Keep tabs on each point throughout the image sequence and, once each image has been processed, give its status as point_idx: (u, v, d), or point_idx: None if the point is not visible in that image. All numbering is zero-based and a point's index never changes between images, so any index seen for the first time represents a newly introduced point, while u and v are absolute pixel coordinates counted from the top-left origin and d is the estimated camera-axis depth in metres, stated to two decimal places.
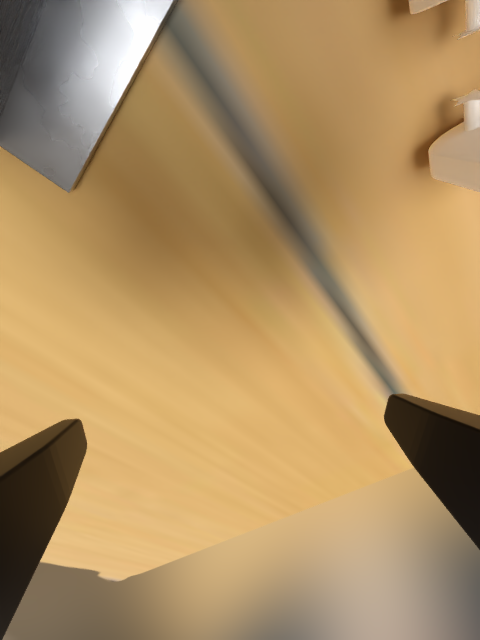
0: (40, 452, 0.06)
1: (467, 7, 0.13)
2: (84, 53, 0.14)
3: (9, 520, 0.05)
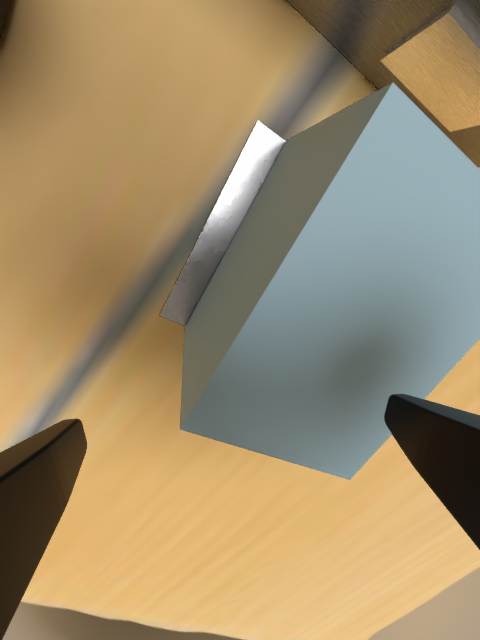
0: (40, 452, 0.06)
1: None
2: None
3: (9, 520, 0.05)
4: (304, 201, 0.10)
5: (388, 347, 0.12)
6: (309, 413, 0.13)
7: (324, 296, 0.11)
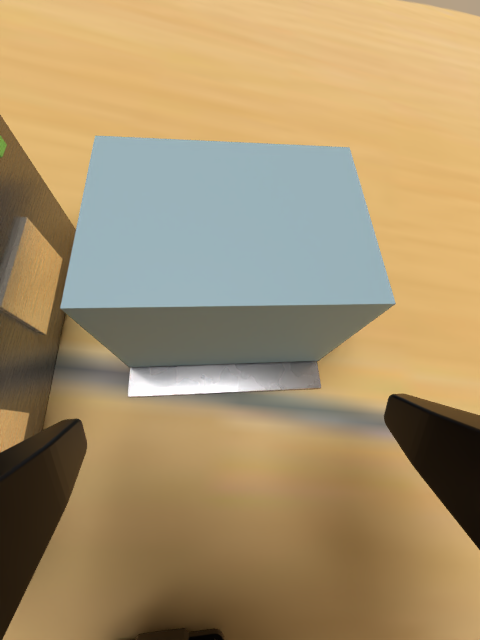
0: (40, 452, 0.06)
1: None
2: None
3: (9, 520, 0.05)
4: (162, 319, 0.13)
5: (225, 194, 0.14)
6: (313, 214, 0.14)
7: (216, 261, 0.13)
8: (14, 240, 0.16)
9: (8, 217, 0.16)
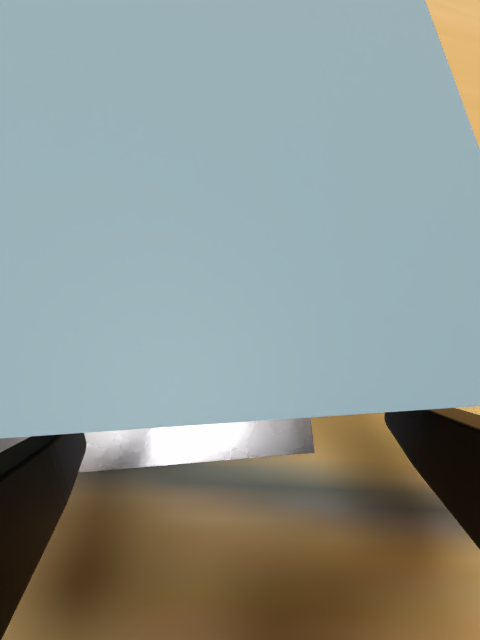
0: (39, 452, 0.06)
1: None
2: None
3: (8, 520, 0.05)
4: None
5: (56, 35, 0.05)
6: (319, 109, 0.05)
7: None
8: None
9: None
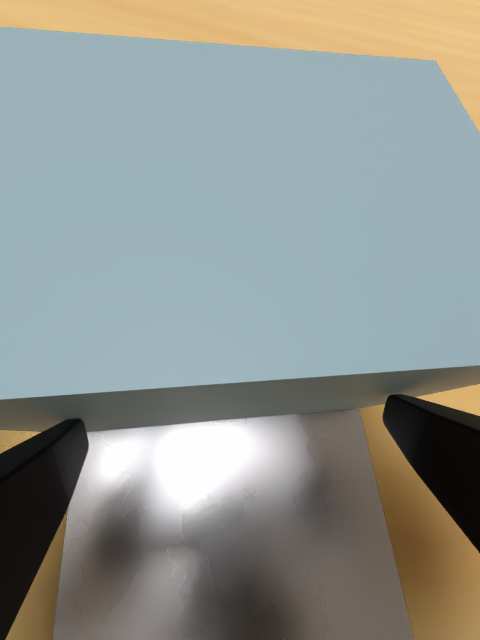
0: (43, 452, 0.06)
1: None
2: None
3: (12, 520, 0.05)
4: (80, 406, 0.05)
5: (220, 129, 0.07)
6: (399, 167, 0.07)
7: (206, 268, 0.05)
8: None
9: None
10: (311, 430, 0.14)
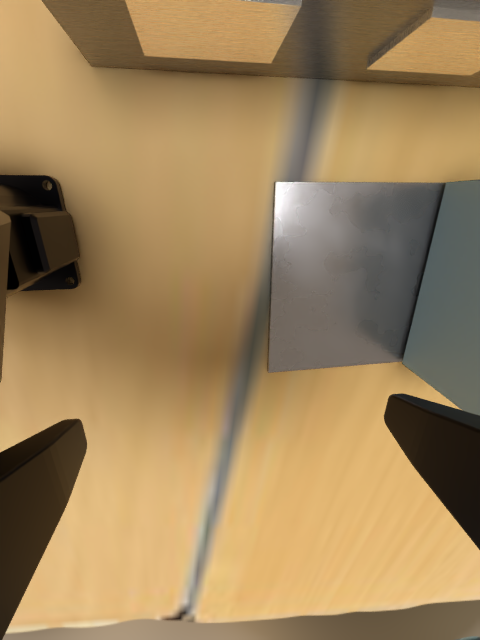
0: (40, 452, 0.06)
1: None
2: None
3: (9, 520, 0.05)
4: None
5: None
6: None
7: None
8: None
9: None
10: (397, 333, 0.23)
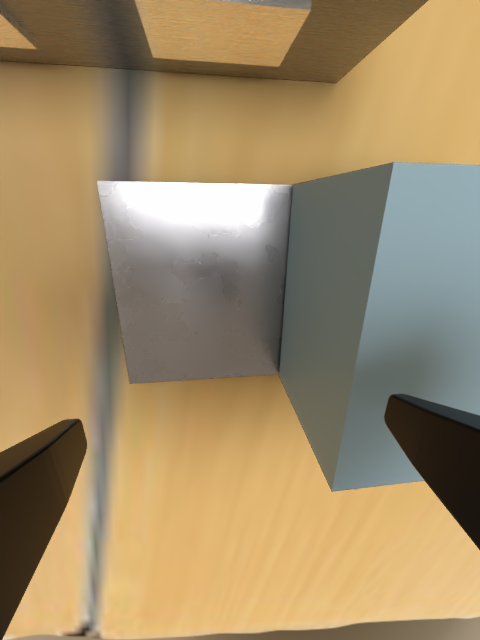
0: (40, 452, 0.06)
1: None
2: None
3: (9, 520, 0.05)
4: (352, 275, 0.11)
5: None
6: None
7: (411, 344, 0.11)
8: None
9: None
10: (269, 344, 0.22)
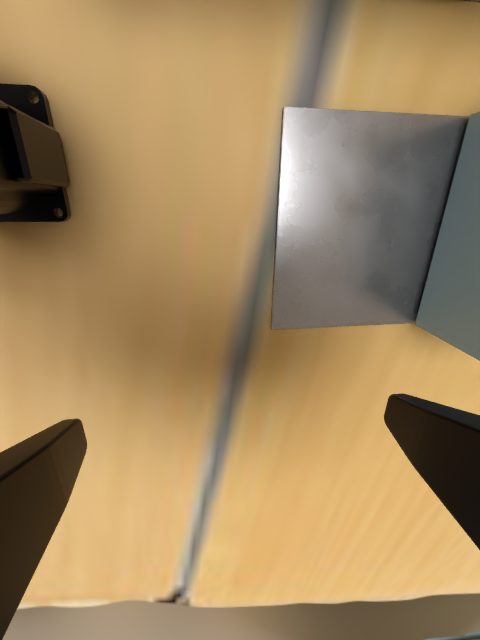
0: (40, 452, 0.06)
1: None
2: None
3: (9, 520, 0.05)
4: None
5: None
6: None
7: None
8: None
9: None
10: (410, 290, 0.22)
